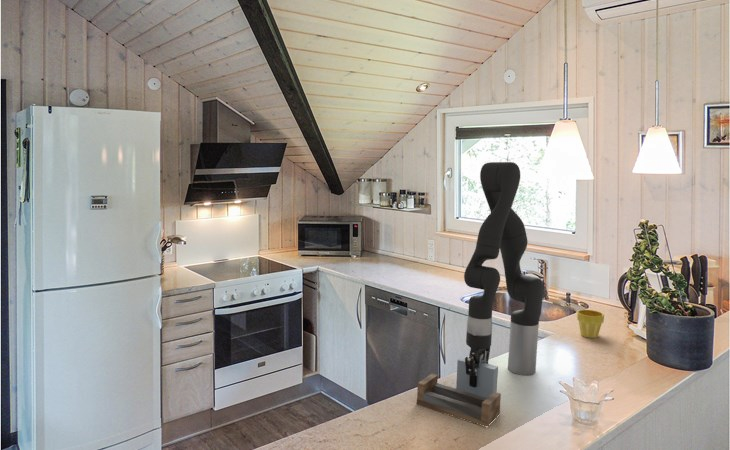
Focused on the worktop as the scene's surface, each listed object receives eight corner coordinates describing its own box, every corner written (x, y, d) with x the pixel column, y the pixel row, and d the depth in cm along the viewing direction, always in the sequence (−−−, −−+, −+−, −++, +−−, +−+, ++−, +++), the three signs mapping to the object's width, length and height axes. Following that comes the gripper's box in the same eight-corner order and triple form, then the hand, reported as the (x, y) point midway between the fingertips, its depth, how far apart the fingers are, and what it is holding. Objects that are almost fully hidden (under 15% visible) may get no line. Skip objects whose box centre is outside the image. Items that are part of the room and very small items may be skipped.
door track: (431, 393, 161) (432, 373, 160) (499, 415, 148) (501, 393, 147) (416, 404, 154) (417, 383, 153) (487, 427, 141) (488, 405, 140)
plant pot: (570, 332, 222) (572, 309, 220) (591, 330, 224) (592, 308, 223) (586, 340, 212) (588, 317, 210) (608, 338, 214) (610, 315, 213)
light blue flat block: (460, 387, 166) (461, 356, 165) (496, 397, 159) (498, 366, 158) (456, 390, 164) (457, 359, 162) (492, 401, 157) (494, 369, 155)
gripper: (477, 322, 167) (474, 373, 169) (457, 333, 155) (455, 388, 157) (499, 327, 162) (496, 379, 164) (481, 339, 151) (478, 395, 153)
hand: (476, 383), depth 161 cm, fingers open, 4 cm apart
